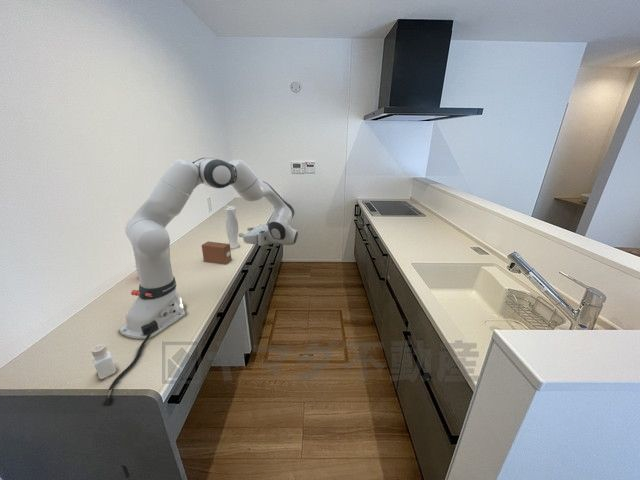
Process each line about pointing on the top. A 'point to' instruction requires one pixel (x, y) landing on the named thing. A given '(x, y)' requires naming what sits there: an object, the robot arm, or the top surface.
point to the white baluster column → (231, 226)
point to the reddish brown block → (216, 252)
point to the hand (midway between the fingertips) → (243, 231)
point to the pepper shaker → (103, 361)
